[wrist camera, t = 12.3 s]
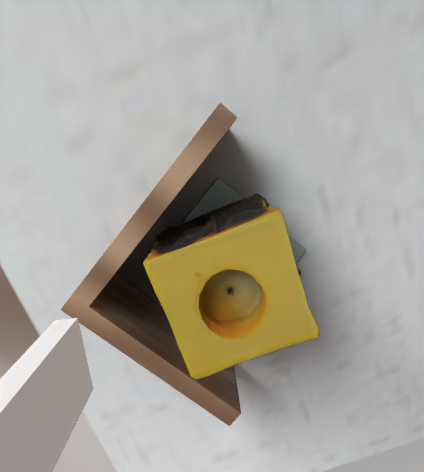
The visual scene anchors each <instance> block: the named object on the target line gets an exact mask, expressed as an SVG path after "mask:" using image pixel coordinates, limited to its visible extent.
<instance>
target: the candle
mask: <svg viewBox="0 0 424 472" xmlns="http://www.w3.org/2000/svg"><path fill="white" fill-rule="evenodd" d="M143 264H144V267H145V269H146V272H147V275H148V277H149V279H150V282H151V284H152V286H153V289H154V291H155V293H156V295H157V297H158V299H159V301H160V303H161V305H162V307H163V309H164V311H165V314H166V316H167V318H168V320H169V323H170V325H171V328H172V330H173V333H174V336H175V338H176V341H177V344H178V347H179V349H180V351H181V354H182V356H183V358H184V361H185V363H186V366H187V368H188V371H189V373H190V375H191V377H192V378H194V379H200V378H203V377H206V376H209V375H212V374H214V373H216V372H219V371H221V370H223V369H226V368H228V367H230V366H232V365H235V364H238V363H241V362H243V361H246V360H249V359H252V358H255V357H258V356H261V355H264V354H267V353H270V352H273V351H275V350H278V349H282V348H285V347H289V346H292V345H296V344H299V343H302V342H305V341H308V340H311V339H314V338H317V337H318V336H319V328H318V326H317V323H316V321H315V318H314V316H313V315H312V313H311V311H310V309H309V307H308V304H307V300H306V295H305V292H304V289H303V286H302V283H301V280H300V275H301V272H300V270H299V269H298V268H297V266H296V263H295V259H294V255H293V252H292V247H291V242H290V238H289V235H288V232H287V229H286V225H285V221H284V218H283V215H282V213H281V211H280V210H279V209H278V208H273V207H271V206H270V207H269V204H268V203H267V201H266V199H265V198H263V197H262V196H261V195H259V194H254V195H253V196H252V197H250V198H246V199H242V200H239V201H237V202H233V203H230V204H228V205H226V206H224V207H221V208H218V209H215V210H212V211H210V212H209V213H207V214H201V215H200V216H199V217H195V218H193V219H192V220H190V221H188V222H185V223H183V224H181V225H179V226H177V227H168V228H167V229H166V230H164V231H162V232H161V234H159V235H157V238H156V240H155V244H154V246H153V248H152V249H151V253H149V254H148V257H147V258H146V259H145V260H144V262H143Z"/></svg>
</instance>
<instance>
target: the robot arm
mask: <svg viewBox="0 0 424 472" xmlns="http://www.w3.org/2000/svg"><path fill="white" fill-rule="evenodd" d="M92 390H93V385H92V381H91V376H90V372H89V367H88V363H87V358H86V354H85V349H84V345H83V340H82V335H81V331H80V326H79V322H78V318H71V319H62V320H55V321H54V322H53V323H52V324H51V325H50V326H49V328H48V329H47V330H46V331H45V332H44V333H43V334H42V335H41V336H40V337H39V338H38V339H37V341H35V342H34V344H33V345H32V346H31V347H30V348H29V349H28V350H27V351H26V352H25V353H24V354H23V355H22V357H20V359H19V360H18V361H17V362H16V363H15V364H14V365H13V366H12V367H11V368H10V369H9V370H8V371H7V372H6V373H5V375H4V376H3V377H2V378H1V379H0V472H52V471H53V469H54V467H55V465H56V463H57V461H58V459H59V457H60V455H61V453H62V451H63V449H64V447H65V445H66V443H67V441H68V439H69V436H70V435H71V432H72V430H73V429H74V426H75V424H76V422H77V420H78V418H79V416H80V414H81V412H82V410H83V408H84V406H85V404H86V402H87V400H88V398H89V396H90V394H91V392H92Z"/></svg>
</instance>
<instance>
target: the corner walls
mask: <svg viewBox="0 0 424 472" xmlns="http://www.w3.org/2000/svg"><path fill="white" fill-rule="evenodd" d="M236 119H237V117H236V116H235V115H234V114H233V113H232V112H231V111H229V110H228V109H227V108H226V107H225V106H224V105H222V104H221V103H220V104H219V105H218V106H217V108H216V109H215V110H214V111H213V113H212V114H211V115H210V117H209V118H208V119H207V121H206V122H205V123H204V124H203V126H202V127H201V128H200V130H199V131H198V132H197V134H196V135H195V136H194V137H193V139H192V140H191V141H190V143H189V144H188V145H187V147H186V148H185V149H184V150H183V152H182V153H181V154H180V156H179V157H178V158H177V159H176V161H175V162H174V163H173V165H172V166H171V167H170V169H169V170H168V171H167V172H166V174H165V175H164V176H163V178H162V179H161V180H160V182H159V183H158V184H157V185H156V187H155V188H154V189H153V191H152V192H151V193H150V195H149V196H148V197H147V198H146V200H145V201H144V202H143V204H142V205H141V206H140V207H139V209H138V210H137V211H136V213H135V214H134V215H133V217H132V218H131V219H130V220H129V222H128V223H127V224H126V226H125V227H124V228H123V230H122V231H121V232H120V233H119V235H118V236H117V237H116V239H115V240H114V241H113V243H112V244H111V245H110V246H109V248H108V249H107V250H106V252H105V253H104V254H103V255H102V257H101V258H100V259H99V261H98V262H97V263H96V265H95V266H94V267H93V268H92V270H91V271H90V272H89V274H88V275H87V276H86V278H85V279H84V280H83V281H82V283H81V284H80V285H79V287H78V288H77V289H76V290H75V292H74V293H73V294H72V296H71V297H70V298H69V300H68V301H67V302H66V303H65V305H64V306H63V307H62V309H61V310H62V311H63V312H65V313H66V314H68V315H69V316H71V317H72V318H78V322H79V323H81V324H82V325H84V326H85V327H86V328H88V329H89V330H91V331H92V332H94V333H95V334H97V335H98V336H100V337H101V338H102V339H104V340H105V341H107V342H108V343H110V344H111V345H113V346H114V347H115V348H117V349H118V350H120V351H121V352H123V353H124V354H126V355H127V356H129V357H130V358H131V359H133V360H134V361H136V362H137V363H139V364H140V365H142V366H143V367H145V368H146V369H147V370H149V371H150V372H152V373H153V374H155V375H156V376H158V377H159V378H160V379H162V380H163V381H165V382H166V383H168V384H169V385H171V386H172V387H174V388H175V389H176V390H178V391H179V392H181V393H182V394H184V395H185V396H187V397H188V398H189V399H191V400H192V401H194V402H195V403H197V404H198V405H200V406H201V407H203V408H204V409H205V410H207V411H208V412H210V413H211V414H213V415H214V416H216V417H217V418H218V419H220V420H221V421H223V422H224V423H226V424H227V425H229V426H230V425H231V424H232V423H233V422H234V421H235V420H236V418H237V417H238V416H239V415H240V414H241V410H240V403H239V396H238V389H237V383H236V376H235V369H234V365H232V366H230V367H228V368H226V369H223V370H221V371H219V372H216V373H214V374H212V375H209V376H206V377H203V378H200V379H194V378H192V377H191V375H190V373H189V371H188V368H187V366H186V363H185V361H184V358H183V356H182V354H181V351H180V349H179V347H178V344H177V341H176V338H175V336H174V333H173V330H172V328H171V325H170V323H169V320H168V318H167V316H166V314H165V311H164V309H163V308H162V307H161V306H159V305H158V304H157V303H155V302H154V301H153V300H151V299H150V298H148V297H147V296H146V295H144V294H143V293H142V292H140V291H139V290H137V289H136V288H135V287H133V286H132V285H131V284H129V283H128V282H126V281H125V280H124V279H122V278H121V277H120V276H118V275H117V274H116V272H117V271H118V270H119V268H120V267H121V266H122V265H123V263H124V262H125V261H126V260H127V258H128V257H129V256H130V254H131V253H132V252H133V251H134V249H135V248H136V247H137V246H138V244H139V243H140V242H141V240H142V239H143V238H144V237H145V235H146V234H147V233H148V232H149V230H150V229H151V228H152V226H153V225H154V224H155V223H156V221H157V220H158V219H159V218H160V216H161V215H162V214H163V212H164V211H165V210H166V209H167V207H168V206H169V205H170V204H171V202H172V201H173V200H174V198H175V197H176V196H177V195H178V193H179V192H180V191H181V190H182V188H183V187H184V186H185V184H186V183H187V182H188V181H189V179H190V178H191V177H192V176H193V174H194V173H195V172H196V170H197V169H198V168H199V167H200V165H201V164H202V163H203V162H204V160H205V159H206V158H207V157H208V155H209V154H210V153H211V151H212V150H213V149H214V148H215V146H216V145H217V144H218V143H219V141H220V140H221V139H222V137H223V136H224V135H225V134H226V132H227V131H228V130H229V128H230V127H231V126H232V124H233V123H234V121H235V120H236Z"/></svg>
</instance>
